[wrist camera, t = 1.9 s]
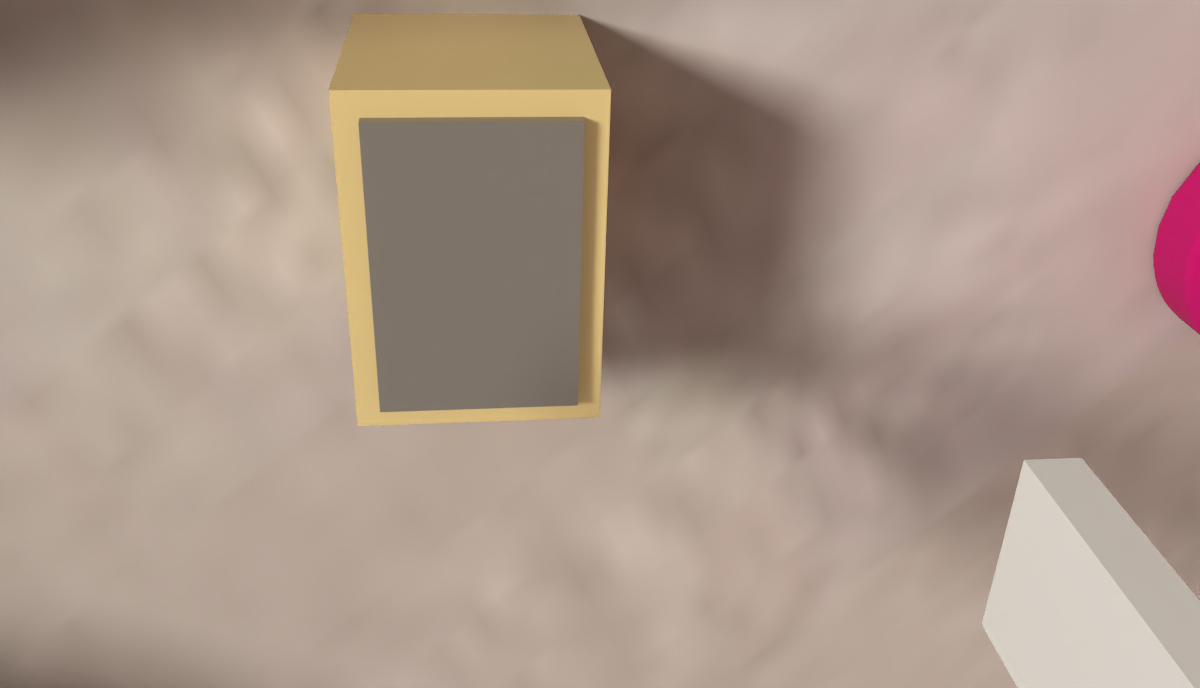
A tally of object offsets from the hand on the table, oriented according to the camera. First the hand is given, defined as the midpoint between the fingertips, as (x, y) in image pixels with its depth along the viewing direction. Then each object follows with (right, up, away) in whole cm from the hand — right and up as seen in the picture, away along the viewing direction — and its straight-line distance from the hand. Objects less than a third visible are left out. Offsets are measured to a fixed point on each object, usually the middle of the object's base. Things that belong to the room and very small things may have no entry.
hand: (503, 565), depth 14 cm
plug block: (-2, +7, +13) cm, 15 cm away
